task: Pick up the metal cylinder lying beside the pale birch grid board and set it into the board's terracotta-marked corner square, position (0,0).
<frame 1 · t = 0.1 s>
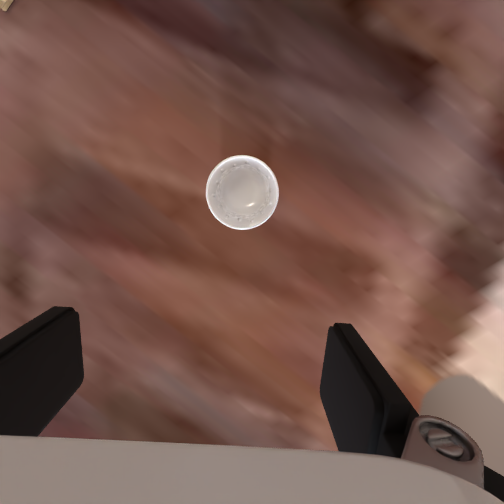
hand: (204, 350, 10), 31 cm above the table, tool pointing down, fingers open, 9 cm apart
white cup: (244, 191, 39), on the table
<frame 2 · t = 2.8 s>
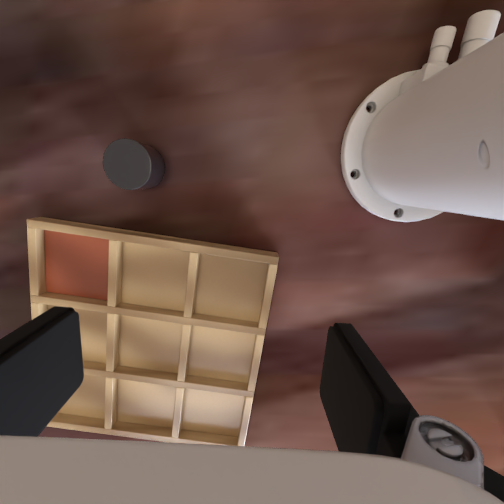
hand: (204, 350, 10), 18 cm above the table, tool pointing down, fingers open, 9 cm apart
metal cylinder: (144, 167, 26), on the table
board: (153, 339, 30), on the table
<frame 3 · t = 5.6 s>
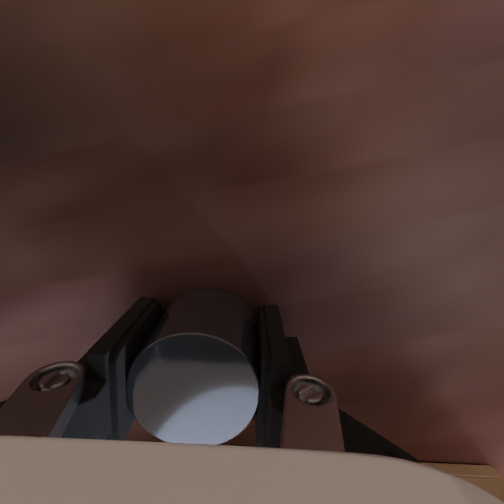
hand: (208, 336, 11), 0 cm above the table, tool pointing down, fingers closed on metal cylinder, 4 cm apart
metal cylinder: (209, 332, 11), on the table, touching gripper
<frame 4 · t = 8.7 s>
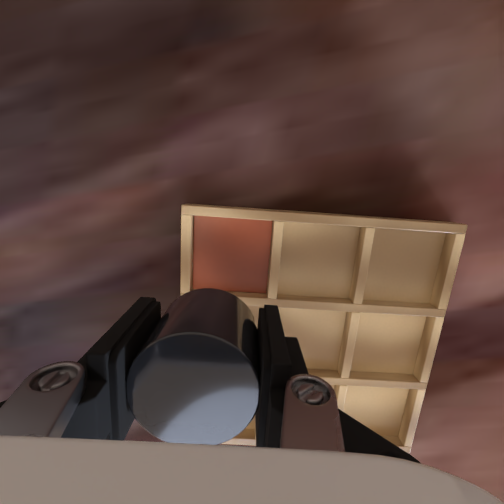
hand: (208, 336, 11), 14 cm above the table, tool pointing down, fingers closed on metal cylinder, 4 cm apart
metal cylinder: (209, 332, 11), point 14 cm above the table, touching gripper
board: (305, 333, 27), on the table
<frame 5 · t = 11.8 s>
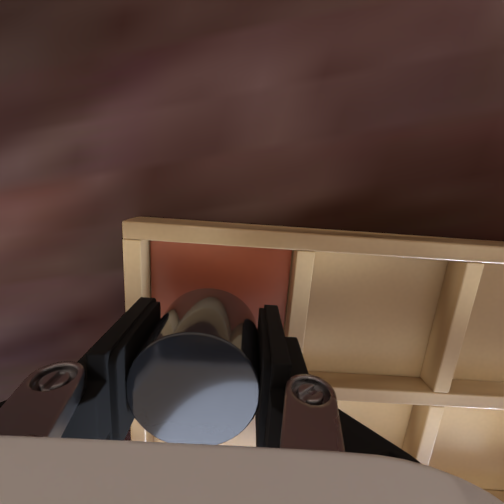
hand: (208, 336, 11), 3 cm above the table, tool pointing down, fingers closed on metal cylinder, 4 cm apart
metal cylinder: (209, 332, 11), point 3 cm above the table, touching gripper
board: (342, 427, 16), on the table
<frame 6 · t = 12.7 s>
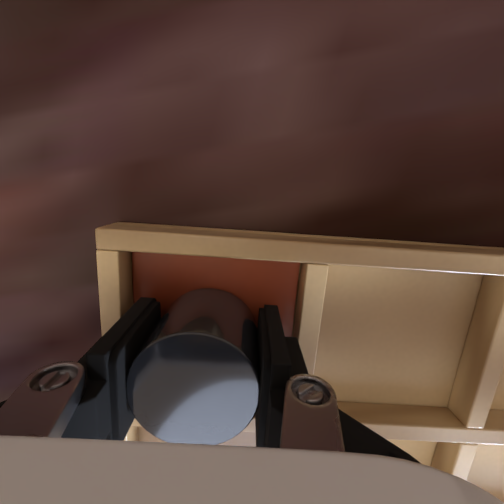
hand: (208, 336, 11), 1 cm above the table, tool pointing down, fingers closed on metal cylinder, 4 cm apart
metal cylinder: (209, 332, 11), point 1 cm above the table, touching gripper
board: (355, 461, 14), on the table
when the fingers open (2 cm above the table, at t = 18.0 s): metal cylinder drops 1 cm, resting on board.
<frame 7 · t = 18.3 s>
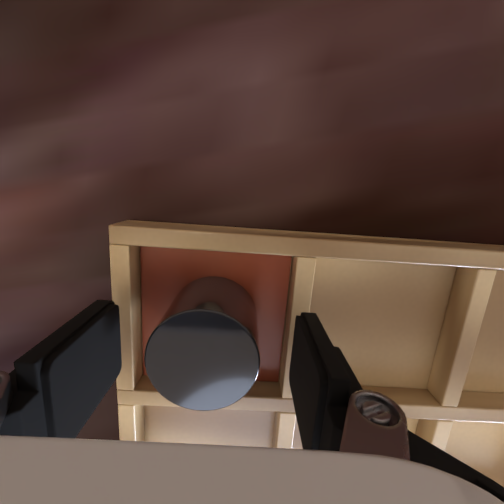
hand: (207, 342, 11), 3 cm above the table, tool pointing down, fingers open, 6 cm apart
metal cylinder: (214, 316, 13), point 1 cm above the table, touching board
board: (344, 440, 16), on the table
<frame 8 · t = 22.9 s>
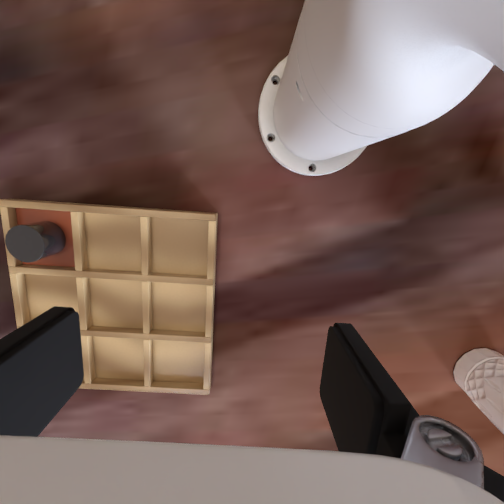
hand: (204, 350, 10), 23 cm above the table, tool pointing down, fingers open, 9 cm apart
metal cylinder: (48, 237, 32), point 1 cm above the table, touching board
board: (120, 300, 35), on the table
white cup: (476, 368, 38), on the table
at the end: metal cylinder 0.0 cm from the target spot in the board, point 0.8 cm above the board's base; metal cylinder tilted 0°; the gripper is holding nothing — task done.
